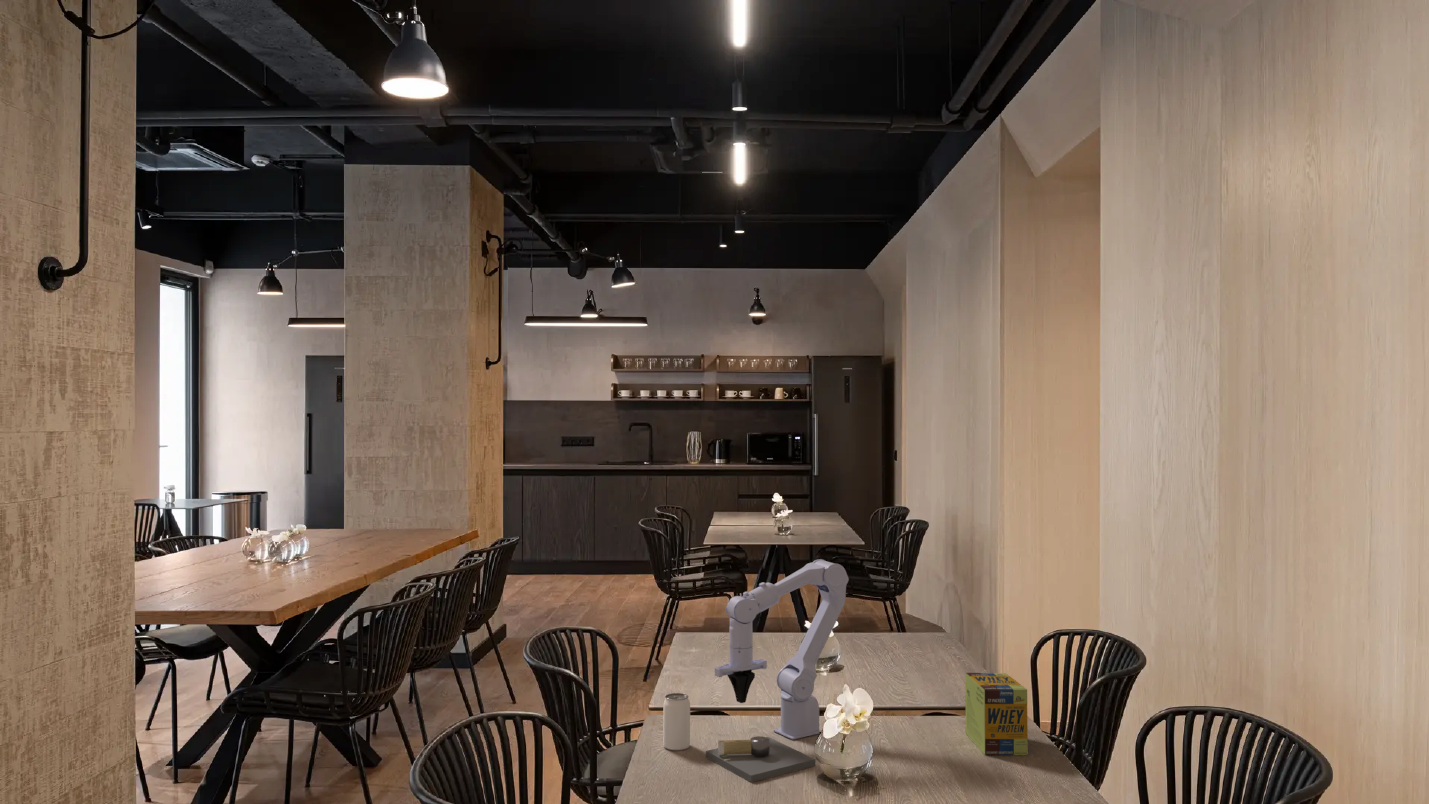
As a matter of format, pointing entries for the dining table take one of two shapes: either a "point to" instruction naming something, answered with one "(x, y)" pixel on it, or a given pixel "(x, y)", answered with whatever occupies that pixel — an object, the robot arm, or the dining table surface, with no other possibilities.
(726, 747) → the brown bar with cylinder
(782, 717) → the robot arm
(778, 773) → the dial board
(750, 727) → the dining table surface
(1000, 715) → the protein box
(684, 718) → the can
